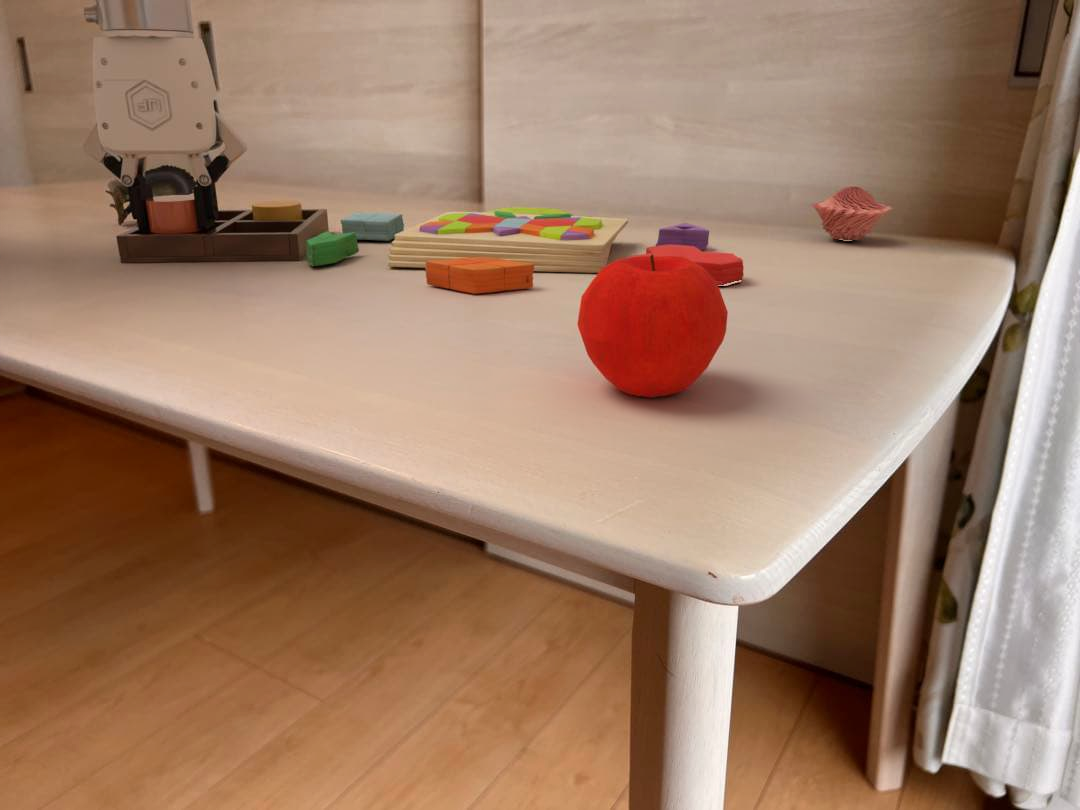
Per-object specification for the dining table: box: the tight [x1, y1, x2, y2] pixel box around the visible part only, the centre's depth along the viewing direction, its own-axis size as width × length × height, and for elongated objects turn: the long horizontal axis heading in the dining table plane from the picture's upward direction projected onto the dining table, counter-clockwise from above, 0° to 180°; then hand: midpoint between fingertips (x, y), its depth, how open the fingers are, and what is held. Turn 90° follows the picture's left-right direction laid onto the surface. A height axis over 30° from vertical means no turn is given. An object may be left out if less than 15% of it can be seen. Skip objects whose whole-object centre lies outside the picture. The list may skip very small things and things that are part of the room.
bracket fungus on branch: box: [105, 164, 197, 226], centre depth 101 cm, size 8×7×9 cm
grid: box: [115, 208, 330, 264], centre depth 87 cm, size 16×16×2 cm
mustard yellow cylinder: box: [251, 199, 303, 220], centre depth 91 cm, size 5×5×3 cm
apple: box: [577, 254, 729, 398], centre depth 46 cm, size 8×8×7 cm
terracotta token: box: [145, 194, 204, 234], centre depth 82 cm, size 5×5×3 cm
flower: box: [810, 186, 894, 241], centre depth 89 cm, size 8×8×6 cm
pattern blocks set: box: [306, 206, 745, 295], centre depth 83 cm, size 38×34×3 cm
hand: (177, 225), depth 83 cm, fingers closed on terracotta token, 4 cm apart
